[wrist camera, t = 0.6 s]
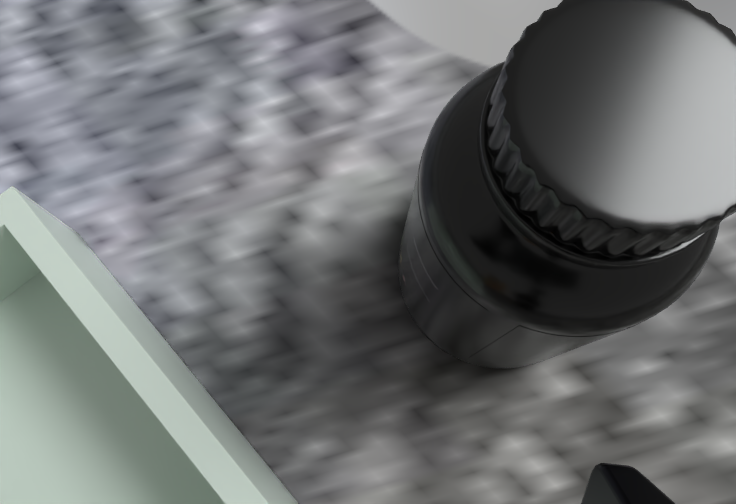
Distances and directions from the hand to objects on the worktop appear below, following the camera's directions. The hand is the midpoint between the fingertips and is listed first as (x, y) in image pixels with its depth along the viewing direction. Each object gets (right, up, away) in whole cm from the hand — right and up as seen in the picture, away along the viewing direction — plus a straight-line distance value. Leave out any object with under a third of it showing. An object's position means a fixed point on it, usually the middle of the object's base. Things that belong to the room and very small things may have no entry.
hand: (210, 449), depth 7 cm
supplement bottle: (+6, +2, +15) cm, 16 cm away
